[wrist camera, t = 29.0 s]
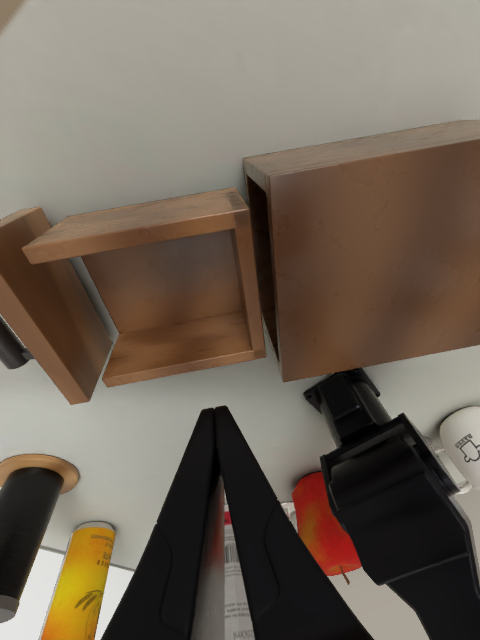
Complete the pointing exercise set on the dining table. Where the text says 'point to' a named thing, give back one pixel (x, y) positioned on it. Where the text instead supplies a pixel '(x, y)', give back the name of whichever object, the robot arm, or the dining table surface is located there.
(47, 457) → the coaster
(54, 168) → the dining table surface
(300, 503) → the apple
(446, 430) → the mug
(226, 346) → the drawer
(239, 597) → the spray bottle
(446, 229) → the cabinet
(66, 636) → the beer can
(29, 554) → the spice tin
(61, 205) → the dining table surface
